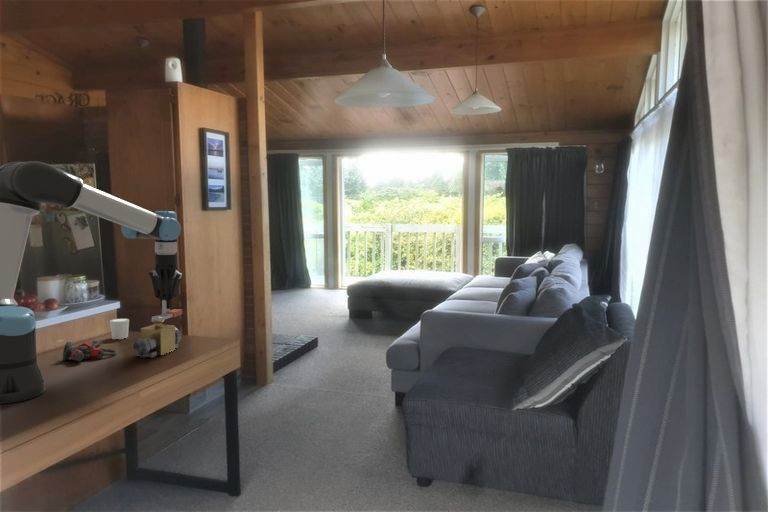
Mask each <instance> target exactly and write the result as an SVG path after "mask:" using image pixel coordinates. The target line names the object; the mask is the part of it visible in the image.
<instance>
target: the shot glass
mask: <svg viewBox="0 0 768 512" xmlns="http://www.w3.org/2000/svg"><path fill="white" fill-rule="evenodd" d="M109 325H110V334H111V339H112V340H115V339H119V340H125V339H124V338H126V339H128V338H129V328H130V319H129V318H113V319H110V320H109ZM127 337H128V338H127Z"/></svg>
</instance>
